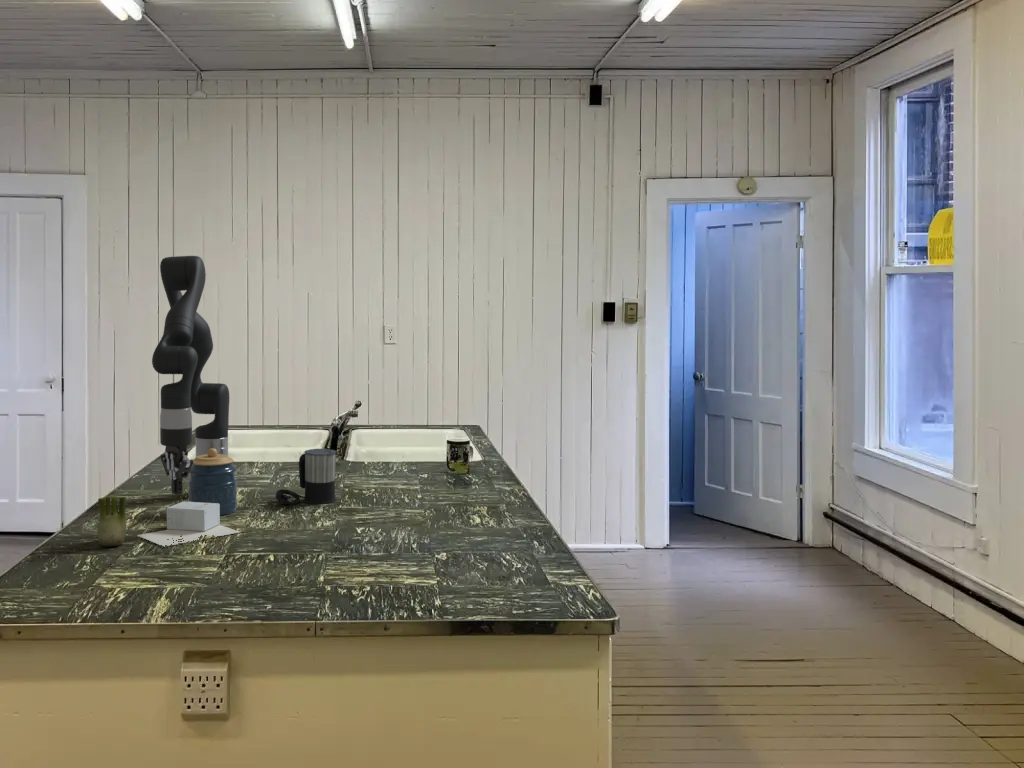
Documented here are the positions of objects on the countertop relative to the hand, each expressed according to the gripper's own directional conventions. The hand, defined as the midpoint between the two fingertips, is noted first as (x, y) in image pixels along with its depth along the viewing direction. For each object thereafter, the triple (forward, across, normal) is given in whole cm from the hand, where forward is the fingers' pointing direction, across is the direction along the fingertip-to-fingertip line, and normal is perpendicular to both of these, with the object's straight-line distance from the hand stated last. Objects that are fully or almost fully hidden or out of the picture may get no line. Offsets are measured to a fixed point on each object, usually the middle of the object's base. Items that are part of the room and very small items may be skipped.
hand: (177, 493), depth 233 cm
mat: (+10, -6, 0) cm, 11 cm away
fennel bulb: (+10, -3, +18) cm, 21 cm away
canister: (+10, +13, -17) cm, 23 cm away
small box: (+6, +4, -1) cm, 7 cm away
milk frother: (+10, +6, -43) cm, 44 cm away
